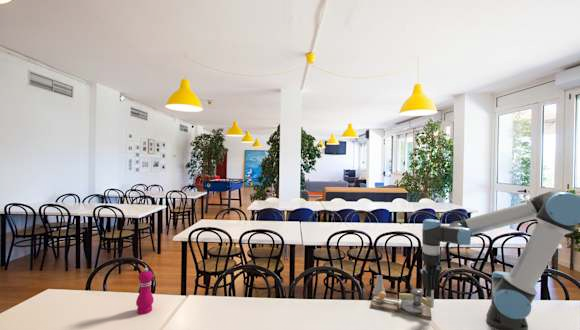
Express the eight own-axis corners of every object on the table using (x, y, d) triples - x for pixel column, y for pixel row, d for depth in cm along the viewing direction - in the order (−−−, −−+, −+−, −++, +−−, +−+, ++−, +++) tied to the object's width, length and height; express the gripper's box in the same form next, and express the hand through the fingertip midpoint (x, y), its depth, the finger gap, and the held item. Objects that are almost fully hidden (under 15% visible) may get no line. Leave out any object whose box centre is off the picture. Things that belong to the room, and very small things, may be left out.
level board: (430, 308, 147) (430, 303, 147) (431, 319, 136) (431, 314, 136) (374, 297, 157) (374, 292, 157) (370, 307, 146) (371, 302, 146)
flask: (386, 298, 157) (387, 279, 157) (372, 296, 159) (373, 277, 159) (385, 292, 164) (385, 274, 164) (371, 290, 166) (372, 273, 166)
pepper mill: (132, 312, 135) (133, 268, 135) (146, 305, 142) (147, 264, 142) (142, 316, 132) (143, 271, 132) (156, 309, 138) (157, 266, 138)
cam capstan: (420, 300, 151) (420, 284, 151) (443, 312, 139) (444, 295, 139) (396, 306, 144) (396, 289, 144) (418, 319, 132) (419, 301, 132)
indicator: (401, 301, 150) (401, 292, 150) (400, 308, 143) (400, 298, 143) (379, 297, 154) (379, 288, 154) (377, 303, 147) (377, 294, 147)
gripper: (433, 248, 144) (432, 296, 145) (414, 252, 138) (413, 302, 139) (447, 253, 137) (446, 303, 138) (428, 257, 132) (427, 309, 132)
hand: (430, 303), depth 138 cm, fingers closed
